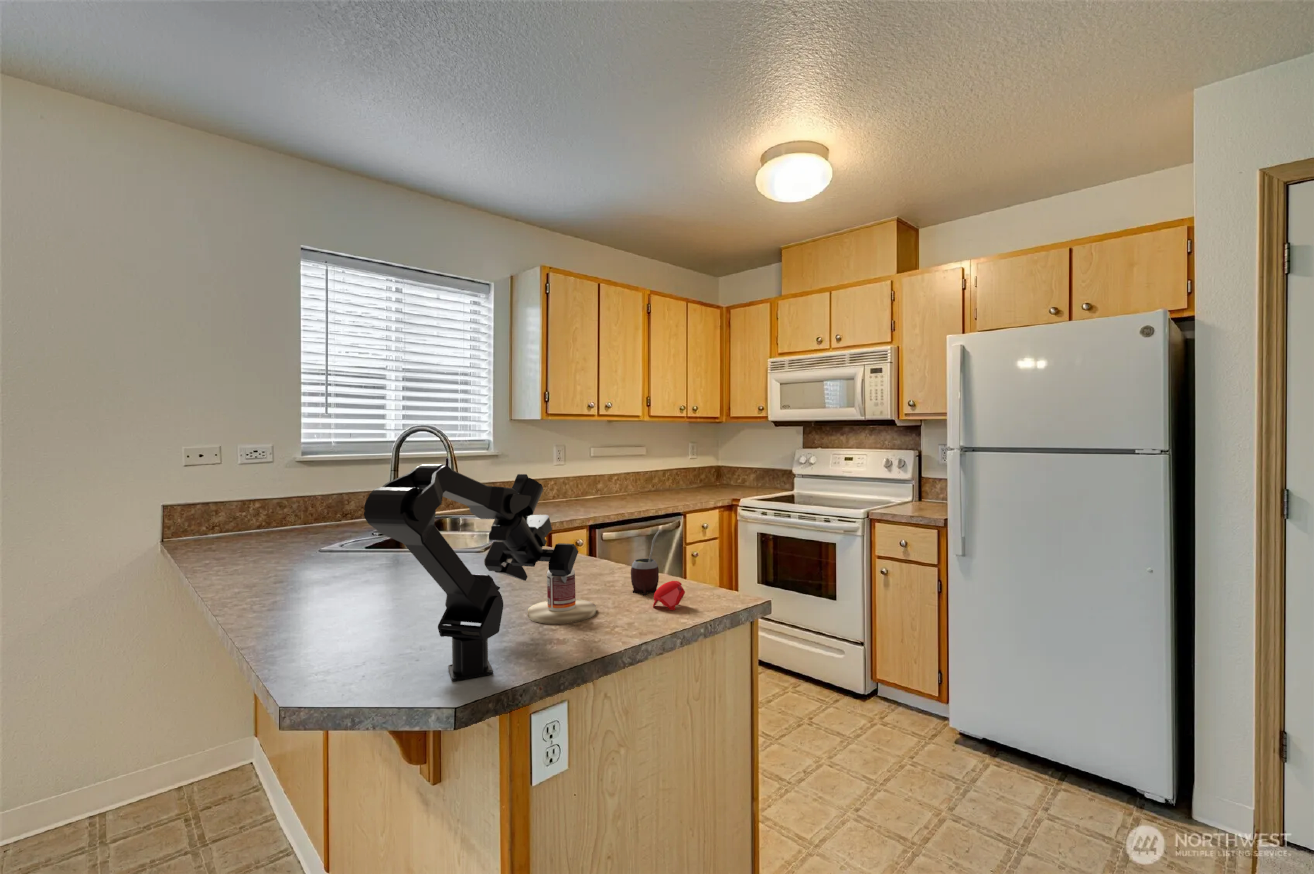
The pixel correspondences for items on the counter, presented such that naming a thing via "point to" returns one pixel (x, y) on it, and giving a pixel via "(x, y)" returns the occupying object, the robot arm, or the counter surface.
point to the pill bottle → (561, 593)
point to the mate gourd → (645, 574)
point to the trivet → (562, 613)
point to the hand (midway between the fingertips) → (545, 580)
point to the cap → (669, 594)
